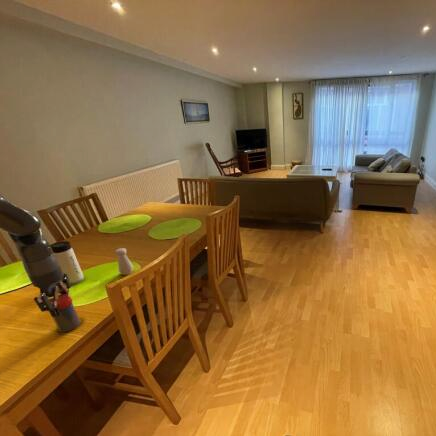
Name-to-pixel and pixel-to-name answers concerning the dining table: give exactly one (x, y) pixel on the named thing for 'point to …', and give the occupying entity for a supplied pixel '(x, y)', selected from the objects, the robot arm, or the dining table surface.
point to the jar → (67, 319)
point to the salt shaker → (123, 262)
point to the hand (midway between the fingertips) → (62, 308)
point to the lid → (63, 301)
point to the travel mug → (67, 261)
